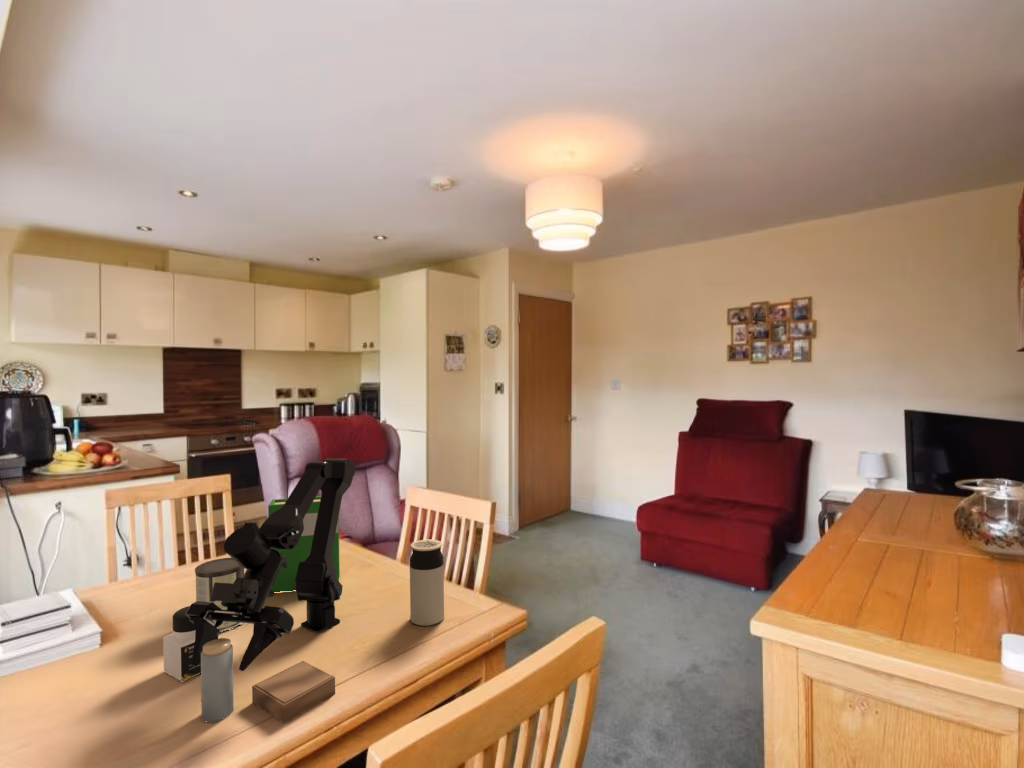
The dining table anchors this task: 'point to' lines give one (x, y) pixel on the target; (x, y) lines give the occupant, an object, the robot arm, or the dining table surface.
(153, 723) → the dining table surface
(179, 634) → the medicine bottle
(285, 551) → the hardback book
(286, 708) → the walnut block
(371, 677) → the dining table surface
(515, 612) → the dining table surface
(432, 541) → the travel mug
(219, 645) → the spice jar
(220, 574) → the coffee can
